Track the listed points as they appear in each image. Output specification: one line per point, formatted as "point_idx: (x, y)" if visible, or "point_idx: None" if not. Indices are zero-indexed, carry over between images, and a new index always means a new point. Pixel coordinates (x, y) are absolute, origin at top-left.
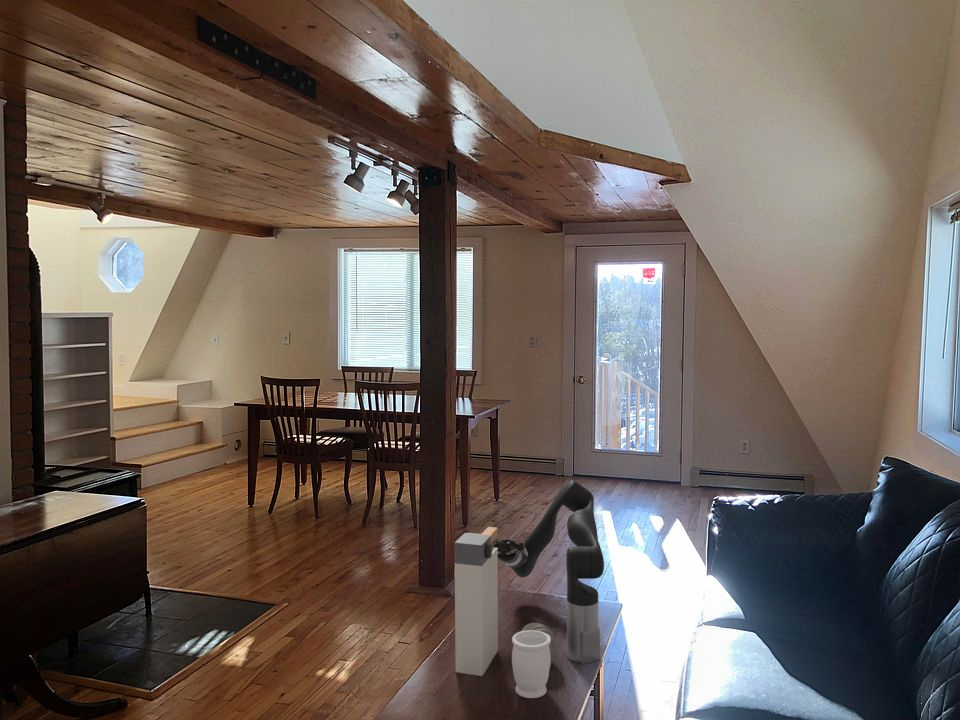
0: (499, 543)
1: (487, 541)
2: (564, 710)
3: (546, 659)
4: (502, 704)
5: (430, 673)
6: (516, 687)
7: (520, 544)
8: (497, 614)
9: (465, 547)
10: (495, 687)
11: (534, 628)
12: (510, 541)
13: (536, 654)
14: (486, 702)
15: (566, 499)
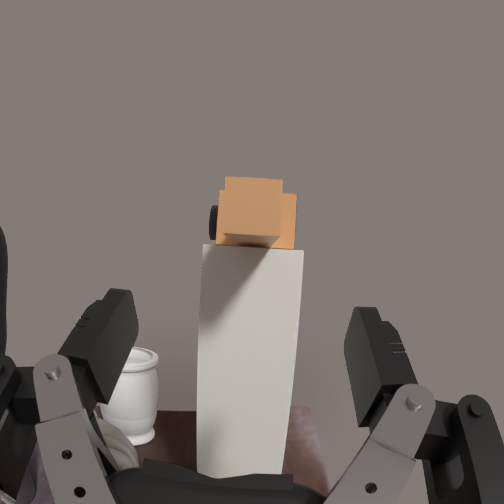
0: (267, 479)
1: None
2: (95, 406)
3: None
4: (174, 418)
5: (309, 457)
6: (153, 431)
7: (16, 369)
8: (197, 461)
9: None
10: (187, 442)
11: (100, 425)
12: (128, 297)
13: None
14: (196, 421)
15: None
